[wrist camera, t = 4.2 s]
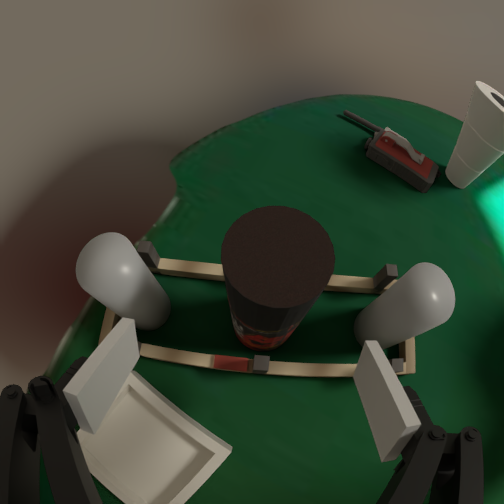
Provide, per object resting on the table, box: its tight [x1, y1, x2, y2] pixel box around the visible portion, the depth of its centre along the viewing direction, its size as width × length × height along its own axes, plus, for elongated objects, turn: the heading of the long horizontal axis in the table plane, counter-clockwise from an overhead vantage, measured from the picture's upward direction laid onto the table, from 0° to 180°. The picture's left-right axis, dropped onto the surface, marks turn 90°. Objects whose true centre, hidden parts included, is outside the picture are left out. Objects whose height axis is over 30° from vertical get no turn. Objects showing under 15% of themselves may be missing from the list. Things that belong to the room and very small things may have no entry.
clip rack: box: [98, 241, 415, 377], centre depth 26 cm, size 32×10×5 cm, turn 84°
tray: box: [77, 370, 233, 504], centre depth 20 cm, size 12×12×2 cm
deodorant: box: [221, 206, 335, 351], centre depth 21 cm, size 6×6×15 cm
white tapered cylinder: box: [445, 81, 504, 189], centre depth 31 cm, size 11×11×18 cm
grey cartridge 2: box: [354, 263, 455, 350], centre depth 23 cm, size 5×5×11 cm
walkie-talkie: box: [343, 110, 441, 193], centre depth 39 cm, size 9×4×20 cm
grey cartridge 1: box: [76, 233, 171, 331], centre depth 23 cm, size 5×5×11 cm
